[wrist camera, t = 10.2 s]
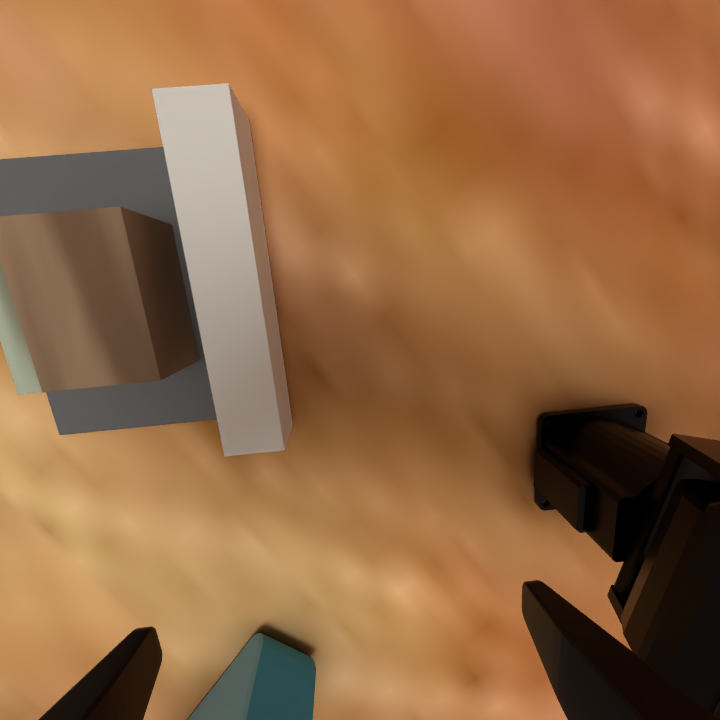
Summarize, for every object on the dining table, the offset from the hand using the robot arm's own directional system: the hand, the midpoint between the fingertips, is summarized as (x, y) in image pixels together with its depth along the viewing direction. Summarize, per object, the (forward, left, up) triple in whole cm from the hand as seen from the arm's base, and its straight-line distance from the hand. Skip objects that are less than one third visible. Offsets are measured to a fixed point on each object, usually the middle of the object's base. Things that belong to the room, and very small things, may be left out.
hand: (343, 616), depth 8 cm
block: (+7, -8, -10) cm, 15 cm away
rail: (+4, -8, -12) cm, 15 cm away
